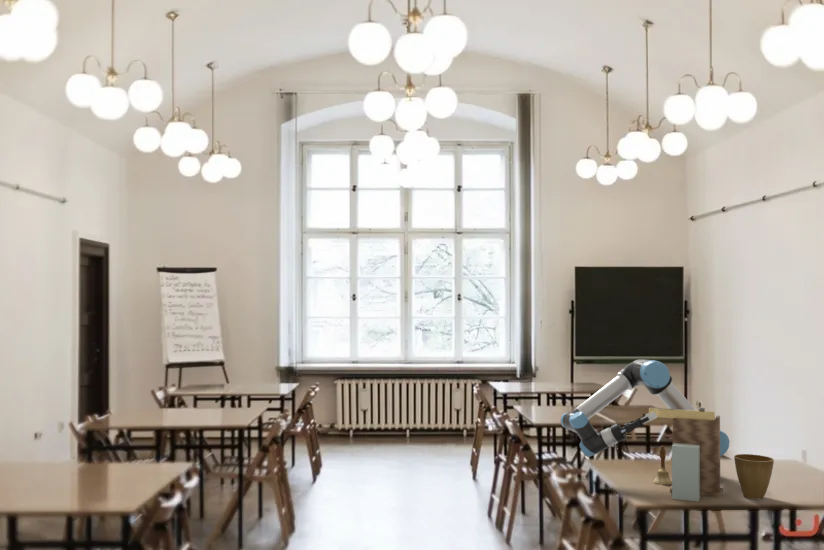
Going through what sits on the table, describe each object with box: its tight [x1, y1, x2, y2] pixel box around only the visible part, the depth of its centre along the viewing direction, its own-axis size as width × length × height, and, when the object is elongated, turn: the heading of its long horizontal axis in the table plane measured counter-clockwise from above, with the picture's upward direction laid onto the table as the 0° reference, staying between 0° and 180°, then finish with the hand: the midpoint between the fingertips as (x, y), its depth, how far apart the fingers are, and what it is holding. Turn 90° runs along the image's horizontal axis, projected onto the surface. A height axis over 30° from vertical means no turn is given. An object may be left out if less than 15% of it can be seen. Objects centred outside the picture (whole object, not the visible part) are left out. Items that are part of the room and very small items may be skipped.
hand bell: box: [652, 445, 672, 486], centre depth 347 cm, size 8×8×16 cm
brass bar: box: [648, 407, 716, 421], centre depth 334 cm, size 26×4×5 cm, turn 66°
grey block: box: [671, 443, 701, 502], centre depth 319 cm, size 10×7×21 cm
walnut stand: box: [669, 415, 724, 498], centre depth 331 cm, size 20×12×32 cm, turn 66°
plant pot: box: [733, 453, 775, 500], centre depth 322 cm, size 15×15×16 cm
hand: (658, 412), depth 337 cm, fingers open, 13 cm apart
